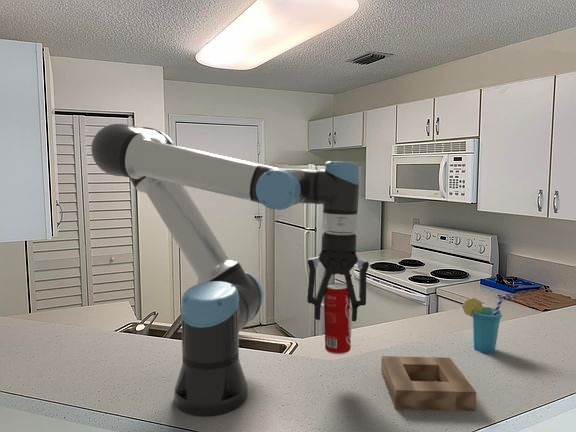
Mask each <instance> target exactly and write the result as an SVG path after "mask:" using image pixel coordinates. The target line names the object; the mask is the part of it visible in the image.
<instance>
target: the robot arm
mask: <svg viewBox="0 0 576 432" xmlns="http://www.w3.org/2000/svg"><path fill="white" fill-rule="evenodd" d="M91 156H92V158H93V161H94V162H95V164H96V166H97V167H98V168H99V169H100V170H101V171H103V172H104V173H106V174H108V175H111V176H114V177H115V176H116V177H125V178H128V179H129V181H131V183H132V185H133V186H134V189H135V190H136V191H137V192H140V193H144V194H146V196H147V197H148V198H149V201H150V202H151V203H152V205H153V207H154V209H155V210H156V212H157V213H158V215H159V216H160V218H161V220H162V222H163V223H164V225H165V227H166V228H167V230H168V231H169V233H170V234H171V236H172V237H173V239H174V241H175V243H176V245H177V246H178V247H179V249H180V250H181V252H182V254H183V255H184V257H185V259H186V260H187V262H188V264H189V265H190V268H191V269H192V270H193V272H194V274H195V276H196V277H197V284H194V285H193V286H191V287H189V288H188V289H187V290H186V291H185V292H184V293H183V295H182V298H181V306H180V317H181V344H182V345H181V348H182V349H181V351H182V353H181V354H182V364H181V368H180V370H179V374H178V377H177V381H176V382H175V386H174V403H175V406H176V407H177V408H179V410H180V411H182V412H184V413H186V414H189V415H195V416H205V417H206V416H216V415H217V416H218V415H221V414H225V413H228V412H231V411H233V410H235V409H238V408H239V407H240V406H241V405H243V404H244V402H245V401H246V400H247V398H248V383H247V380H246V376H245V373H244V370H243V367H242V365H241V362H240V359H239V358H240V356H239V354H240V353H239V351H240V350H239V347H240V343H239V342H240V339H239V336H240V332H241V331H242V330H243V329H244V328H245V327H246V326H247V324H249V323H250V322H251V321H253V320H255V317H256V316H257V315H258V313H259V312H260V310H261V308H262V305H263V300H264V292H263V291H264V290H263V287H262V285H261V283H260V282H259V280H258V279H257V278H256V276H254V275H253V274H251V273H249V272H246V271H245V270H244V269H243V267H242V265H241V264H240V262H239V261H237V260H232V259H230V258H229V256H228V255H227V253H226V252H225V250H224V248H223V246H222V245H221V244H220V242H219V240H218V239H217V237H216V235H215V234H214V231H213V230H212V229H211V227H210V225H209V223H208V222H207V221H206V218H204V216H203V214H202V212H201V211H200V209H199V208H198V206H197V204H196V202H195V201H194V200H193V198H192V196H191V195H190V192H189V191H188V190H187V188H186V187H190V188H193V189H194V188H195V189H199V190H202V191H203V190H204V191H207V192H211V193H215V194H220V195H223V196H224V195H225V196H228V197H233V198H237V199H242V200H246V201H249V202H250V201H251V202H254V203H258V204H261V205H263V206H265V207H266V208H267V209H270V210H277V211H278V210H279V211H281V210H282V211H283V210H286V209H289V208H291V207H292V206H295V205H297V204H310V205H315V204H316V205H322V228H321V229H322V230H323V231H324V232H322V233H321V251H320V253H319V254H318V256H316V257H308V258H307V265H308V268H309V272H308V282H307V283H308V285H307V286H308V288H307V303H308V304H311V305H314V319H315V320H316V321H319V324H318V325H319V326H318V335H319V336H320V337H321V336H324V320H325V316H324V303H322V302H323V301H324V294H325V291H326V288H327V285H328V284H329V282H330V279H331V277H332V275H342V276H344V280H345V283H346V285H347V287H348V291H349V295H350V308H349V328H350V337H352V327H353V325H352V324H353V322H357V320H358V308H359V307H361V306H366V305H367V271H368V269H369V266H370V262H369V261H368V260H367V259H361V258H359V257H358V256H357V234H356V232H357V230H358V211H359V195H360V166H359V165H358V163H356V161H355V162H354V161H335V160H333V161H331V160H328V161H325V164H324V168H323V169H302V168H299V169H298V168H285V167H283V168H280V167H276V166H270V165H266V164H260V163H255V162H252V161H247V160H241V159H238V158H234V157H233V158H232V157H228V156H225V155H224V156H223V155H219V154H215V153H210V152H206V151H201V150H197V149H192V148H187V147H182V146H178V145H175V144H174V142H173V140H172V139H171V138H170V136H168V135H167V134H165V132H162V131H160V130H158V129H155V128H153V127H146V126H143V127H139V126H135V125H130V124H129V125H128V124H124V123H113V124H112V123H111V124H108V125H105V126H104V127H102V128H101V129H99V130H98V132H97V133H96V134H95V135H94V137H93V139H92V143H91ZM185 186H186V187H185ZM319 263H320V264H321V265H322V266H323V268H324V273H323V276H322V279H321V283H320V286H319V288H318V291H317V294H316V297H315V296H314V291H315V290H314V289H315V279H316V268H318V266H319ZM356 264H357V267H358V269H359V271H358V273H359V276H358V277H359V278H358V281H359V283H358V284H359V285H358V287H359V289H358V292H359V293H358V295H359V296H358V298H357V297H356V293H355V289H354V284H353V281H352V276H351V272H350V271H351V270H352V268H353V267H354V266H356Z"/></svg>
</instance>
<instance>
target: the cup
mask: <svg viewBox="0 0 576 432" xmlns="http://www.w3.org/2000/svg"><path fill="white" fill-rule="evenodd" d="M504 299H508V300H514V301H515V300H516V299H517V298H516V296H513V295H507V294H503V295H501V296H500V297H499V299H498V302H497V304H496V306H495V308H492V307H487V306H486V307H485V306H483V304H482V301H481V300H479V299H477V298H475V297H470V298H468V299H465V300H464V302H463V304H462V306H461V308H462V309H463V313H464V314H465V315H467V316H470V317H472V333H473V335H472V336H473V349H474V350H475V351H476V352H479V353H482V354H483V353H484V354H493V353H495V352H496V346H497V339H498V334H499V328H500V321H501V319H502V316H503V314H502V312H501V310H500V307H501V305H502V303H503V300H504Z"/></svg>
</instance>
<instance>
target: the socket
mask: <svg viewBox="0 0 576 432" xmlns="http://www.w3.org/2000/svg"><path fill="white" fill-rule="evenodd" d="M380 368H381V372H382V373H381V372H380V373H381V375H383V376H382V378H383V380H385V381H384V383H386V384H385V386H386V388H387V391H389V392H388V394H389V396H390V400H391V402H392V404H393V407H394V409H395V410H424V411H425V410H426V411H428V410H429V411H454V412H455V411H458V412H459V411H462V412H463V411H464V412H467V411H468V412H476V409H477V408H476V403H477V391H476V390H475V388H474V387H473V386H472V384H471V383H470V382H469V381H468V379H467V378H466V376H465V375H464V374H463V372H462V371H461V370H460V369H459V367H458V366H457V365H456V364H455V362H454V361H453V360H452V358H451V357H440V356H437V357H436V356H435V357H433V356H432V357H431V356H395V355H387V356H386V355H385V356H384V355H382V356H381V367H380ZM433 381H437V382H433Z"/></svg>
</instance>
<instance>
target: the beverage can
mask: <svg viewBox="0 0 576 432" xmlns="http://www.w3.org/2000/svg"><path fill="white" fill-rule="evenodd" d="M323 304H324V349H325V350H326V352H327V353H328V354H331V355H345V354H348V353H349V352H350V351H351V346H352V344H351V343H352V342H351V341H352V340H351V339H352V338H351V337H352V336H351V337H350V328H349V308H350V305H351V300H350V295H349V291H348V287H347V284H345V283H341V282H340V283H337V282H334V283H328V285H327V288H326V291H325V294H324V297H323Z"/></svg>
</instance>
